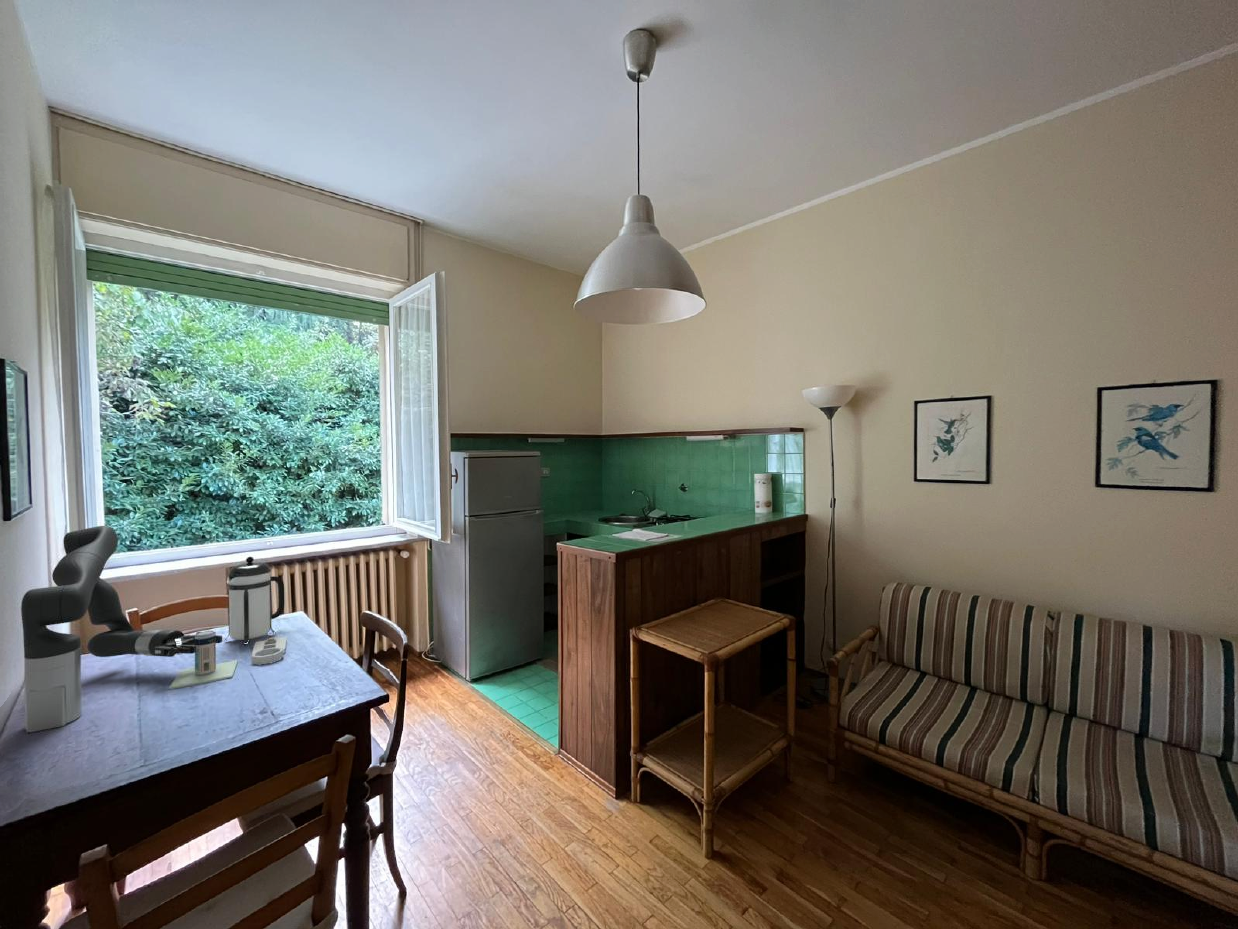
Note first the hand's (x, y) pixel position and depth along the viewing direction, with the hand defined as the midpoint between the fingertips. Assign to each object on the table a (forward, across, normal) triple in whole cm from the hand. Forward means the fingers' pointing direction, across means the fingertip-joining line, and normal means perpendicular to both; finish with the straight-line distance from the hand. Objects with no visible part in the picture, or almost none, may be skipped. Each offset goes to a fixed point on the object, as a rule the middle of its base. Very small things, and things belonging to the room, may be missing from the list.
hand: (208, 644), depth 149 cm
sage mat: (-1, 0, +9) cm, 9 cm away
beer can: (-1, 0, +9) cm, 9 cm away
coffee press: (-14, +32, +9) cm, 36 cm away
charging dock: (+4, +18, +9) cm, 20 cm away
